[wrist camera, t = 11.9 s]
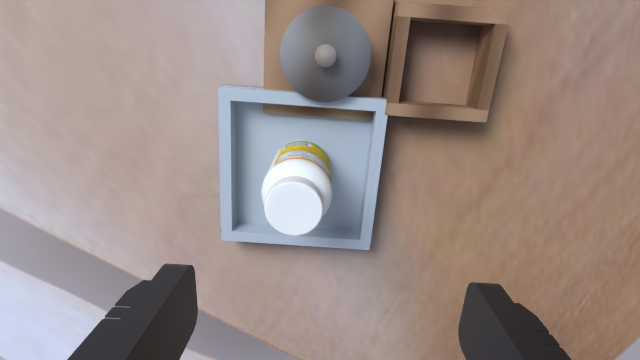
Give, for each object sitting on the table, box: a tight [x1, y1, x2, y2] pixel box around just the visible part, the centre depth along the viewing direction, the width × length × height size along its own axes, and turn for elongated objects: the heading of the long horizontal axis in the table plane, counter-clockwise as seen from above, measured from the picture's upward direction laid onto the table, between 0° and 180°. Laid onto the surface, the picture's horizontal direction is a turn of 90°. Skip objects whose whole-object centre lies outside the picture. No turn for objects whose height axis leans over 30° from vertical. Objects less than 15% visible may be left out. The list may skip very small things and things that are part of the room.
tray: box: [218, 85, 389, 250], centre depth 32 cm, size 14×14×2 cm
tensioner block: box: [263, 0, 512, 122], centre depth 28 cm, size 19×10×4 cm, turn 86°
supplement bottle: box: [261, 140, 332, 236], centre depth 28 cm, size 5×5×10 cm
